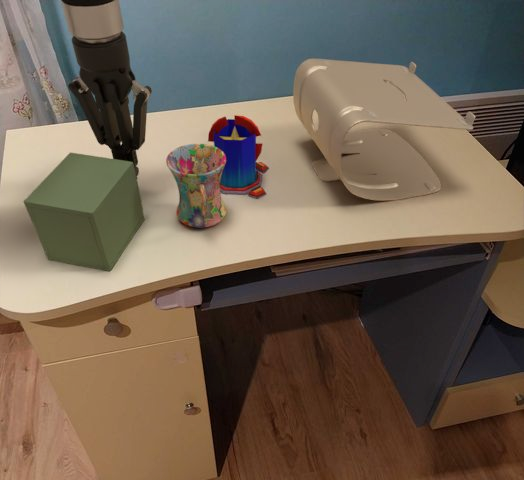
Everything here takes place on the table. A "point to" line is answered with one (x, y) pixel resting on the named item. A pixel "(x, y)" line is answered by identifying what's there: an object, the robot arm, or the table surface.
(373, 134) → the laptop stand
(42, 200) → the cabinet
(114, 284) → the table surface
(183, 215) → the mug
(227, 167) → the fantasy tower
